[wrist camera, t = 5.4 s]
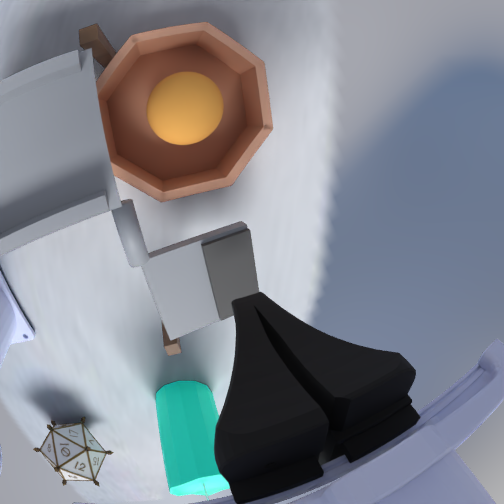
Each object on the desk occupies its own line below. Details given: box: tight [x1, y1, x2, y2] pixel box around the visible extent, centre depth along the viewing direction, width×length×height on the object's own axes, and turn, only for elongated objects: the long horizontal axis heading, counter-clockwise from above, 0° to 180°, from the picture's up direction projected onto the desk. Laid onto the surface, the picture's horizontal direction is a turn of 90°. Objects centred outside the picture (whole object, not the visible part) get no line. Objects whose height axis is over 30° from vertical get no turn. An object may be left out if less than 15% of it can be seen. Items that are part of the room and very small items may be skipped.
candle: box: [156, 381, 230, 501], centre depth 21 cm, size 6×6×12 cm
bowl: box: [96, 22, 273, 202], centre depth 14 cm, size 9×9×4 cm
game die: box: [33, 417, 114, 487], centre depth 20 cm, size 9×8×10 cm
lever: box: [0, 48, 259, 340], centre depth 10 cm, size 14×15×3 cm
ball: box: [146, 72, 224, 145], centre depth 13 cm, size 4×4×4 cm
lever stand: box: [79, 24, 182, 356], centre depth 13 cm, size 9×17×6 cm, turn 8°
